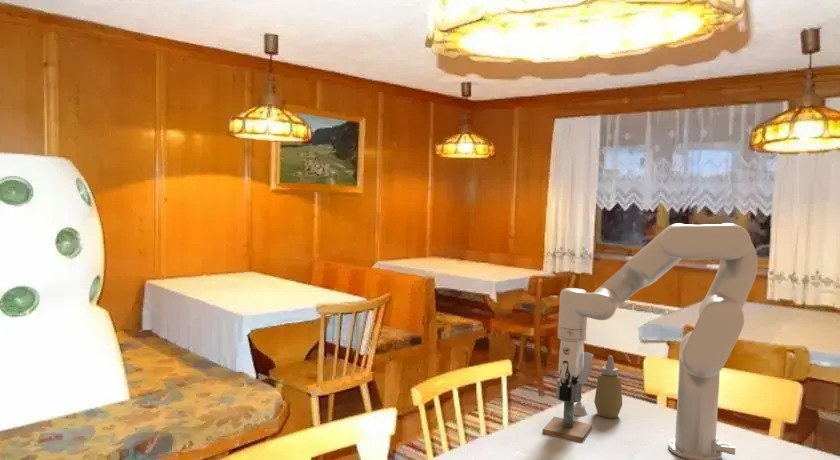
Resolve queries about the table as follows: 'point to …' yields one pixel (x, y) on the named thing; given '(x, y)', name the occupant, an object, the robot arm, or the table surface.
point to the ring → (575, 390)
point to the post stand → (568, 426)
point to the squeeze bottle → (608, 391)
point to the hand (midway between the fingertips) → (568, 396)
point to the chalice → (583, 377)
